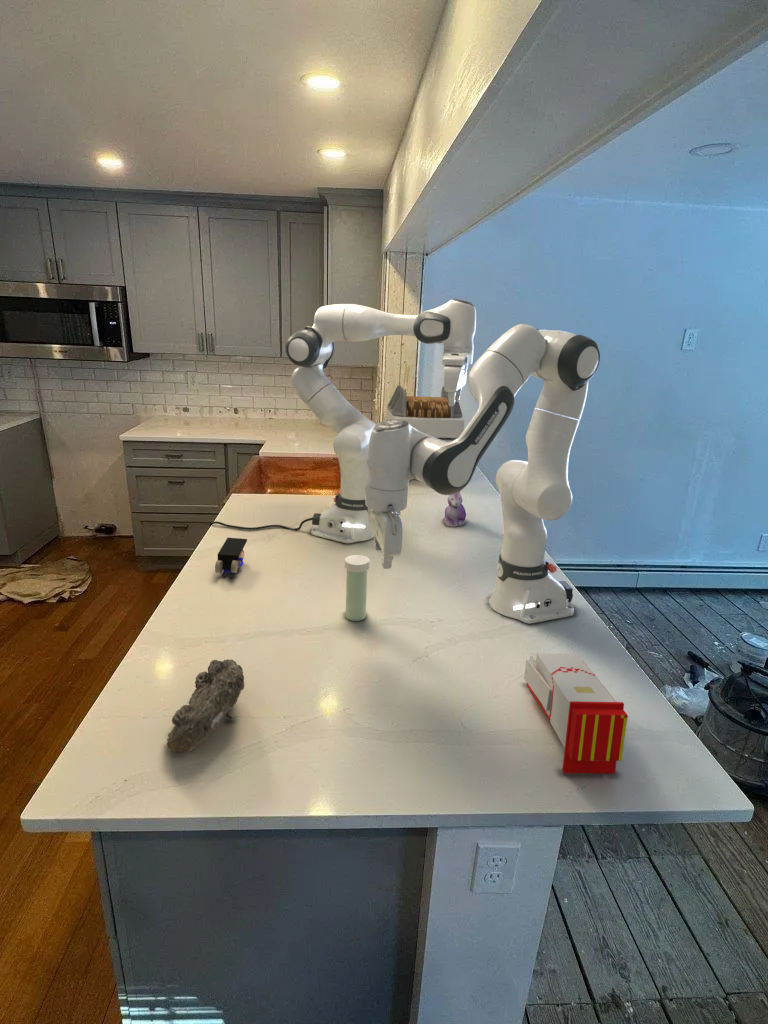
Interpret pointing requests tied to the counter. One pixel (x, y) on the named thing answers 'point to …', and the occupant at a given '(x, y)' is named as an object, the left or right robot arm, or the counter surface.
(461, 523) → the figurine
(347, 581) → the jar
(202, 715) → the fossil
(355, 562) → the lid
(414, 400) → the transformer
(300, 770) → the counter surface
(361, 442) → the left robot arm
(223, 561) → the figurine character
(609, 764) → the toy
